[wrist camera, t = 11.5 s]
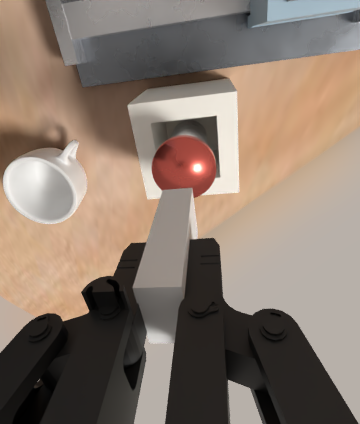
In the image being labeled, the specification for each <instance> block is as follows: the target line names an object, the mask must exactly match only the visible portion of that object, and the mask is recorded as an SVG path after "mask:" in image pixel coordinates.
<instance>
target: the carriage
mask: <svg viewBox="0 0 360 424" xmlns="http://www.w3.org/2000/svg"><path fill="white" fill-rule="evenodd" d="M355 10H360V0H250V16H248V28H254V27H261V26H267V25H274V24H280V23H287V22H293V21H300V20H306V19H313V18H319V17H326V16H332V15H339V14H344V13H349V12H353V11H355Z"/></svg>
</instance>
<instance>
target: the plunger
mask: <svg viewBox="0 0 360 424" xmlns="http://www.w3.org/2000/svg"><path fill="white" fill-rule="evenodd" d="M152 175H153V178H154V181H155V183H156V184H157V186H158V187H159V188H160V189H161V190H162V191H163V190H169V189H182V188H192V189H193V198H195V197H198V196H200V195H202V194H203V193H205V192H206V191H207V190H208V189H209V188H210V187H211V185H212V184H213V182H214V180H215V176H216V160H215V156H214V154H213V152H212V150H211V148H210V147H209V146H208V145H207V133H206V130H205V128H204V127H203V125H201V124H200V123H199V122H197V121H195V120H184V121H182V122H180V123H179V124H177V125H176V127H175V128H174V130H173V132H172V135H171V138H169V139H167V140H166V141H164V142H163V143H162V144H161V145H160V146H159V148H158V149H157V151H156V153H155V155H154V158H153V161H152Z"/></svg>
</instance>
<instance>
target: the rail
mask: <svg viewBox="0 0 360 424" xmlns="http://www.w3.org/2000/svg"><path fill="white" fill-rule="evenodd" d="M45 1H46V5H47V8H48V11H49V14H50V18H51V21H52V24H53V28H54V31H55V34H56V37H57V41H58V44H59V47H60V51H61V54H62V57H63V60H64V64H65V66H68V65H75V64H76V66H77V69H78V73H79V76H80V80H81V83H82V87H88V86H96V85H103V84H110V83H118V82H125V81H132V80H140V79H147V78H154V77H162V76H169V75H176V74H184V73H191V72H198V71H206V70H213V69H220V68H228V67H235V66H242V65H250V64H257V63H264V62H272V61H279V60H286V59H294V58H301V57H308V56H316V55H323V54H330V53H338V52H345V51H352V50H360V10H355V11H353V12H349V13H344V14H339V15H332V16H326V17H319V18H313V19H306V20H300V21H293V22H287V23H280V24H274V25H267V26H261V27H254V28H248V16H250V0H45Z"/></svg>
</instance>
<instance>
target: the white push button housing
mask: <svg viewBox="0 0 360 424" xmlns="http://www.w3.org/2000/svg"><path fill="white" fill-rule="evenodd" d="M127 107H128V111H129V116H130V120H131V125H132V130H133V134H134V139H135V144H136V148H137V153H138V158H139V162H140V167H141V171H142V176H143V181H144V185H145V190H146V195H147V199H158V198H160V197H161V194H162V190H161V189H160V188H159V187H158V186H157V184H156V183H155V181H154V178H153V175H152V161H153V158H154V155H155V153H156V151H157V149H158V148H159V146H160V145H161V144H162V143H163V142H164V141H166V140H167V139H169V138H171V135H172V132H173V130H174V128H175V127H176V125H177V124H179V123H180V122H182V121H184V120H195V121H197V122H199V123H200V124H201V125H203V127H204V128H205V130H206V133H207V145H208V146H209V147H210V148H211V150H212V152H213V154H214V156H215V160H216V176H215V180H214V182H213V184H212V185H211V187H210V188H209V189H208V190H207V191H206V192H205V193H203V194H202V195H211V194H224V193H238V192H239V161H238V114H237V90H236V89H235V87H234V85H233V84H232V82H231V80H230V79H229V78H227V79H219V80H212V81H204V82H196V83H189V84H181V85H174V86H166V87H158V88H151V89H146V90H145V91H144V92H143V93H141V94H140V95H139V96H138V97H136V98H135V99H134V100H133V101H131V102H130V103H129V104H128V105H127Z"/></svg>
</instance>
